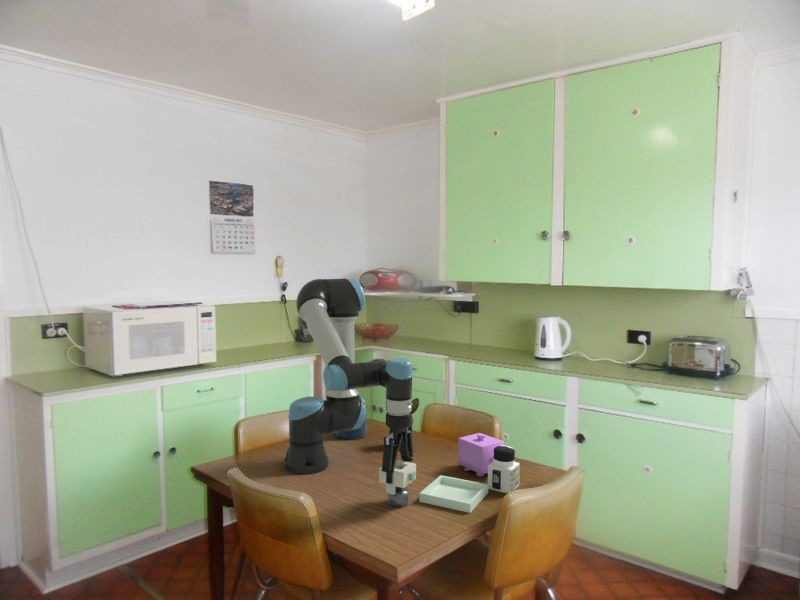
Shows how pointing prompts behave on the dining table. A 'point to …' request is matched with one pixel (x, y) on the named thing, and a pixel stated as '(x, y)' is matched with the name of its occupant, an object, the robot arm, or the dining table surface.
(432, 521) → the dining table surface
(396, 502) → the dark grey stemmed piece
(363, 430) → the canister
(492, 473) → the container
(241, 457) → the dining table surface
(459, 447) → the teapot
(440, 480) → the tray
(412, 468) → the cream square-holed block
